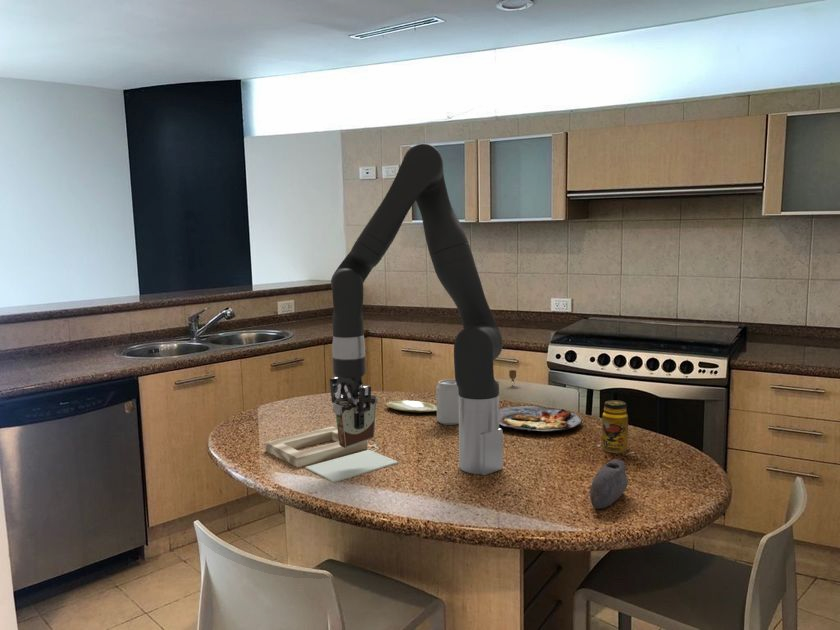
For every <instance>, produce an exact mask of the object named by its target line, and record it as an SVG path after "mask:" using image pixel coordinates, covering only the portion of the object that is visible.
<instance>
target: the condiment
mask: <svg viewBox="0 0 840 630" xmlns="http://www.w3.org/2000/svg"><path fill="white" fill-rule="evenodd" d="M627 407H628V405H627V403H626V402H625V401H622V400H617V399H616V400H607V401H605V402H604V407H603V411H604V412H603V413H602V419H601V423H602V424H601V429H602V430H601V433H602V434H601V444H602V445H601V444H597V445H596V446H597V447H602V450H603V451H605V452H607V453H609V454H610V453H611V454H612V453H613V454H622V453H626V452H628V449H630V447H629V445H628V443H629V441H628V440H629V435H628V433H629V415H628V413H627ZM629 454H635V452H634V451H632V452H631V451H630V452H629Z"/></svg>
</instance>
